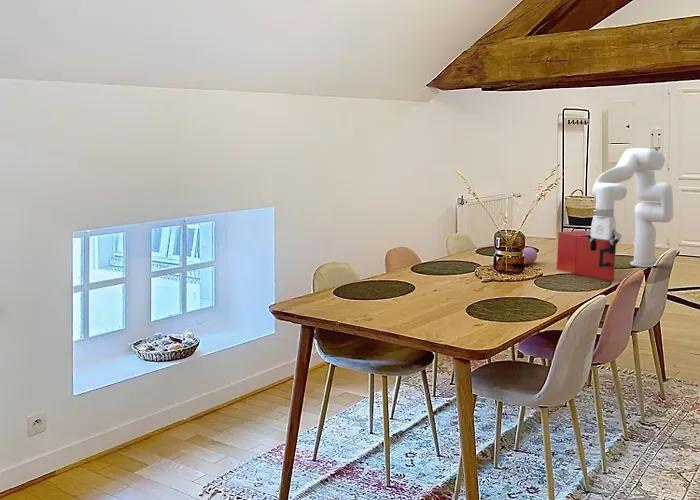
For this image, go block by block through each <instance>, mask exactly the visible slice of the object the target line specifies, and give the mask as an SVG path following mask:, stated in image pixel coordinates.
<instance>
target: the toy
mask: <svg viewBox="0 0 700 500" xmlns="http://www.w3.org/2000/svg"><path fill="white" fill-rule="evenodd" d="M523 248H524V251H523V254H524V259H525V265H527V264H533V263H535V261H536V260H537V259H538V253H537V251H536V249H534V248H533V247H523Z"/></svg>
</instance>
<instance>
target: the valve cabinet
mask: <svg viewBox="0 0 700 500" xmlns="http://www.w3.org/2000/svg"><path fill="white" fill-rule="evenodd" d="M586 231H587V230H574V231H559V232H558V234H557V254H556V255H557V256H556V269H557V270H560V271H563V272H567V273H570V274H574V275H576V274H575V267H576V247H577V237H586V238H588V235H587V233H586ZM600 240H601V239H600ZM608 241H609V240H608Z"/></svg>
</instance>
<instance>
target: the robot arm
mask: <svg viewBox="0 0 700 500" xmlns="http://www.w3.org/2000/svg"><path fill="white" fill-rule="evenodd" d="M665 163H666V159H665V155H664V154H663V152H661V151H659V150H656V149H654V148H649V147H631V148H627V149H625V150H624V152H623V153H622V155H621V156H620V158H619V160H618V162H617V163H616V165H615V166H613V167H612V168H610V169H607V170H606V171H604V172H603V173H601V174H600V175H598V177H597V178H596V180H595V181H594V183H593V186H592V189H591V194H592V197H593V198H594V199H595V209H593V213H594V215H593V217H592V220H591V225H590V229H588V230H585V231H586V233H587V235H588V238H589V241H590V242H591V246H590V248H591V251H594V250H596V244H597V242H596V241H595V240H596V239H601V240H609V242H610V243H611V245H610V249H609V253H610V254H614V253H615V254H616V250H617V249H616V248H617V245H618V243H619V242H620V241H621V239H622V234H620V232H618V231H617V223H616V218H615V216H614V215H615V201H622V200H624V199H625V198H626V195H627V193H628V190H627V186H626V185H625V184H623V183H622V182H626V181H629V180H630V179H632V177H633V176H635V188H636V189H635V191H636V197H637V199H638V200H640V202H638V203H637V204H636V205H635V207H634V220H635V230H634V244H633V245H634V247H633V260H631V261H630V262H629V265H630V266H633V267H636V268H637V267H638V268H654V267H653V265H654V264H655V263H657V262H658V261H657V260H658V259H659V258H660V257H661V256H658V257H657V256H656V254H655V253H656V242H657V241H656V240H657V229H656V227H655V225H654V224H653V223H661V224H662V223H665V224H668V223H670V222H671V221H672V220H673V218H674V198H673V196H674V195H673V188H672V185H671V184H670V183H669V182H666V181H656V175H655V171H660V170H662V169H663V168H664V166H665ZM656 261H657V262H656Z"/></svg>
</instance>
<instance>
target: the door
mask: <svg viewBox="0 0 700 500" xmlns="http://www.w3.org/2000/svg"><path fill="white" fill-rule="evenodd" d="M595 241H596V242H597V244H596V250H594V251H591V248H590V246H591V242H590V241H589V238H586V237H577V247H576V267H575V274H574V275H578V276H583V277H589V278H593V279H598V280H604V281H610V282H614V281H615V267H616V252H615V253H614V254H610V253H609V249H610V245H611V243H610V242H609V241H608V240H600V239H596V240H595Z"/></svg>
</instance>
